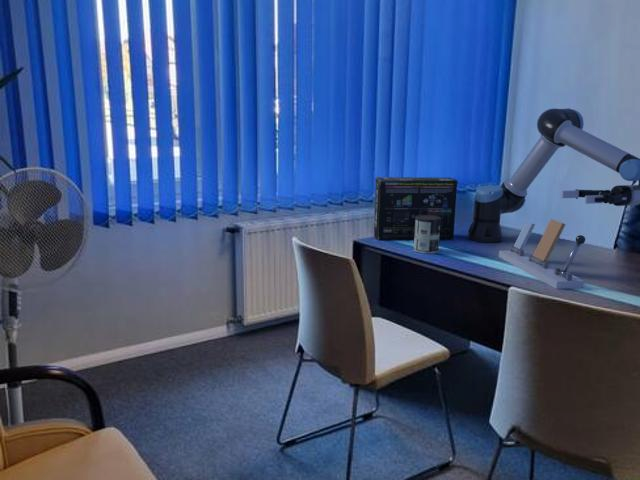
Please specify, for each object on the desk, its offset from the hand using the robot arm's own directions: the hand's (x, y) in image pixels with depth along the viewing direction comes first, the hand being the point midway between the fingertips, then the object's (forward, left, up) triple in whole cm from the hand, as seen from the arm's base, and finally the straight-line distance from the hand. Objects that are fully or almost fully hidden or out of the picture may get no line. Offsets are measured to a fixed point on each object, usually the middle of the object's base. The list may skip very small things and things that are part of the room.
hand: (573, 197), depth 201 cm
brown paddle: (-5, -10, -24) cm, 26 cm away
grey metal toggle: (+8, -18, -24) cm, 31 cm away
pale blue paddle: (-18, -3, -24) cm, 30 cm away
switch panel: (-5, -10, -27) cm, 30 cm away
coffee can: (-48, -21, -28) cm, 59 cm away
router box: (-66, -8, -28) cm, 72 cm away
